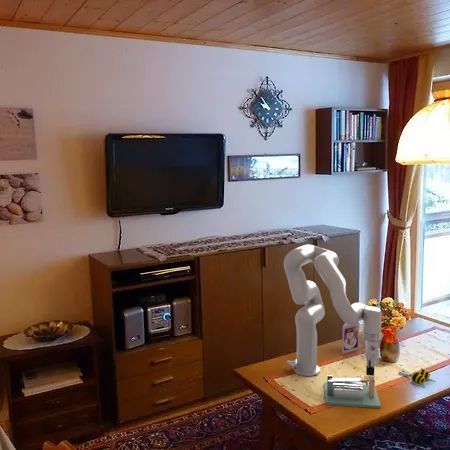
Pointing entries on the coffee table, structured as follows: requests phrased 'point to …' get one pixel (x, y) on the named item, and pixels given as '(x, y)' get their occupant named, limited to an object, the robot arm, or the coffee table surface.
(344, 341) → the greeting card
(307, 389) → the coffee table surface
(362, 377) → the bracket
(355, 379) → the strap
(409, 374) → the pliers
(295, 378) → the coffee table surface
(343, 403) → the circuit board
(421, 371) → the opera glasses
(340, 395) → the heatsink
